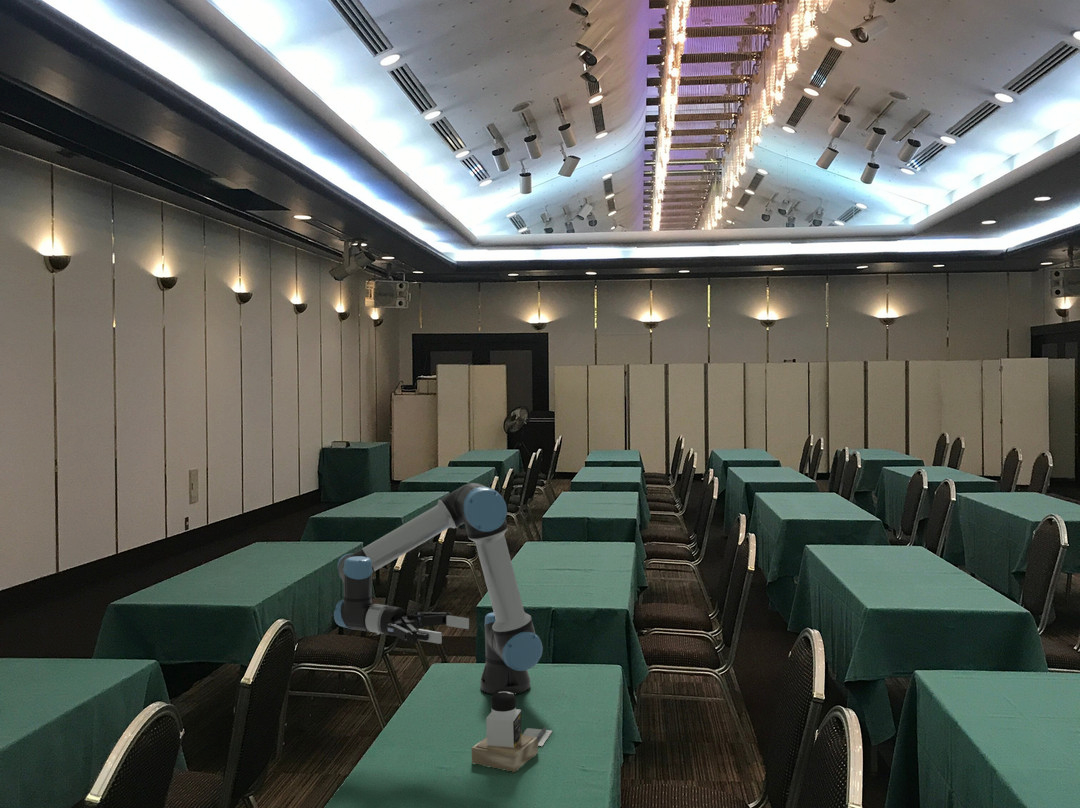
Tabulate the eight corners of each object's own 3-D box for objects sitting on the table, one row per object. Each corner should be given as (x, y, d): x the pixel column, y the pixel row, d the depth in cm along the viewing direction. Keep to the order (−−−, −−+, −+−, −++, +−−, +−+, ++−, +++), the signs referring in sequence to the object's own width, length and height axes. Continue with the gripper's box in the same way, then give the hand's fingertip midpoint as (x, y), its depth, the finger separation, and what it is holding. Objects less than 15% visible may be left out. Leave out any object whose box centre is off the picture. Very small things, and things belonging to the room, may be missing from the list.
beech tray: (496, 745, 235) (496, 729, 235) (537, 753, 229) (537, 736, 229) (471, 763, 224) (471, 746, 224) (514, 772, 219) (514, 755, 218)
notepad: (527, 731, 244) (527, 724, 244) (552, 734, 243) (552, 727, 243) (516, 746, 235) (516, 739, 235) (542, 749, 233) (542, 742, 233)
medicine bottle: (514, 748, 222) (513, 700, 222) (486, 746, 224) (485, 698, 223) (522, 736, 229) (520, 689, 229) (494, 734, 231) (493, 688, 230)
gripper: (412, 621, 256) (478, 631, 247) (358, 647, 233) (428, 659, 224) (412, 595, 255) (478, 604, 246) (358, 618, 233) (428, 629, 224)
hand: (455, 630), depth 235 cm, fingers open, 13 cm apart
